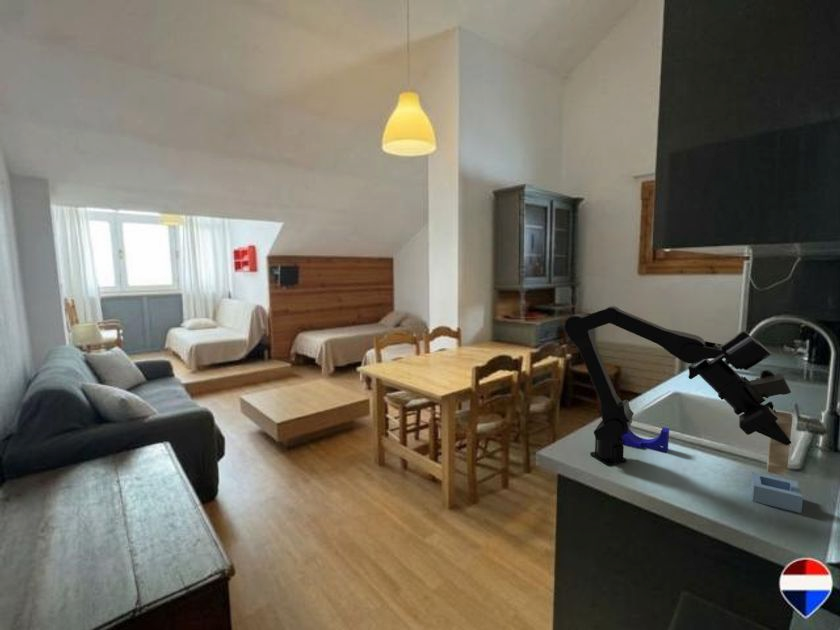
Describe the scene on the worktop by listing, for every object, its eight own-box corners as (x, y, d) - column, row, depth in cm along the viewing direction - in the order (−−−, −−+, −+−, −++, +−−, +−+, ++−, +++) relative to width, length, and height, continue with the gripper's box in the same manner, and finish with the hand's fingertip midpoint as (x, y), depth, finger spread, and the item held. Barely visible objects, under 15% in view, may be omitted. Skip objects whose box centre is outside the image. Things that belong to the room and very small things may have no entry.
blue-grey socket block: (752, 501, 86) (754, 485, 85) (750, 486, 91) (751, 471, 91) (801, 513, 81) (803, 497, 81) (795, 496, 87) (797, 481, 86)
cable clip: (616, 443, 114) (617, 423, 113) (620, 438, 118) (621, 418, 117) (665, 455, 107) (666, 434, 106) (668, 449, 110) (669, 428, 109)
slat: (767, 472, 85) (773, 413, 84) (766, 468, 87) (772, 410, 85) (786, 476, 84) (792, 416, 82) (785, 472, 85) (791, 413, 84)
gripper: (767, 370, 77) (841, 438, 72) (758, 352, 92) (819, 407, 87) (713, 402, 83) (779, 467, 78) (713, 380, 98) (768, 433, 93)
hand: (788, 442), depth 84 cm, fingers closed on slat, 2 cm apart
